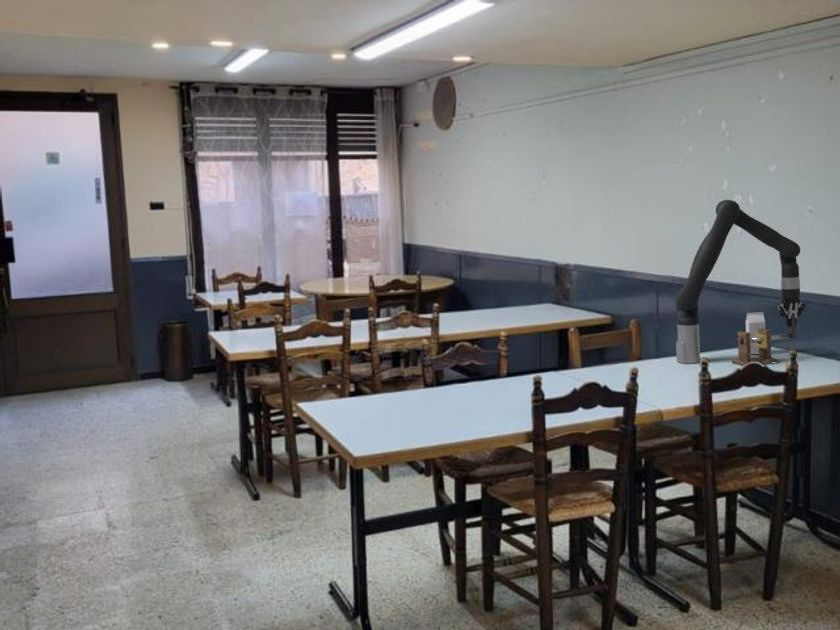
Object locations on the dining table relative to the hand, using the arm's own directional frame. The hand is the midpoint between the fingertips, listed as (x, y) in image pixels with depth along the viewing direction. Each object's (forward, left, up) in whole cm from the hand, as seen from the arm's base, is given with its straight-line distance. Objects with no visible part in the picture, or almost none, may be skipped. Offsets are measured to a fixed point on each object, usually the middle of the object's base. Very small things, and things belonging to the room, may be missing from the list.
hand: (791, 326), depth 368 cm
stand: (-18, 0, -14) cm, 23 cm away
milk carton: (-5, +18, -14) cm, 24 cm away
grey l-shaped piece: (-9, 0, -5) cm, 11 cm away
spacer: (-15, 0, -8) cm, 17 cm away
